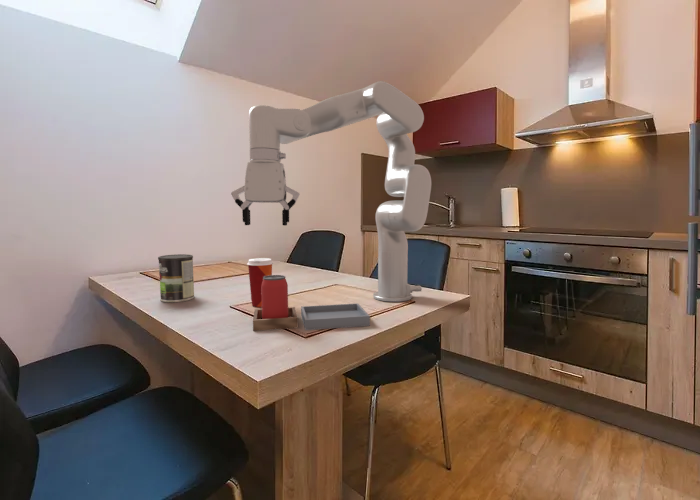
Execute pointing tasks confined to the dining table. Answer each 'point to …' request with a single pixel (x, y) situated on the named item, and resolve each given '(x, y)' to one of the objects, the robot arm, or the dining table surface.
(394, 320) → the dining table surface
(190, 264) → the coffee can
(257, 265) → the paper cup
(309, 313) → the tray
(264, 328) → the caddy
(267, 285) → the beer can
